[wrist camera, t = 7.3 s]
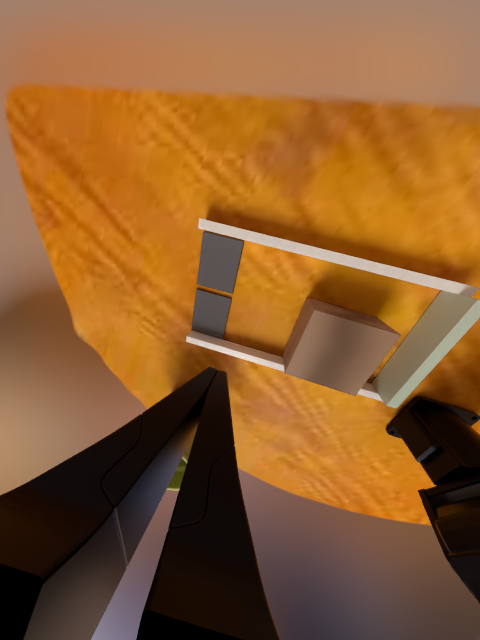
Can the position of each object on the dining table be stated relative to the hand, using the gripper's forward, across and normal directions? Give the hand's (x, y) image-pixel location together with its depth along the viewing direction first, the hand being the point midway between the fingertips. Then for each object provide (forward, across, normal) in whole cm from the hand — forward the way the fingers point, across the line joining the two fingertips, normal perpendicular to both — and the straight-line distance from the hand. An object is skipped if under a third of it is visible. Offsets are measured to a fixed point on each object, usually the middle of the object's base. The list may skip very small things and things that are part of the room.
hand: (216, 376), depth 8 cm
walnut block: (+12, -9, +2) cm, 15 cm away
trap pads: (+12, +4, 0) cm, 13 cm away
